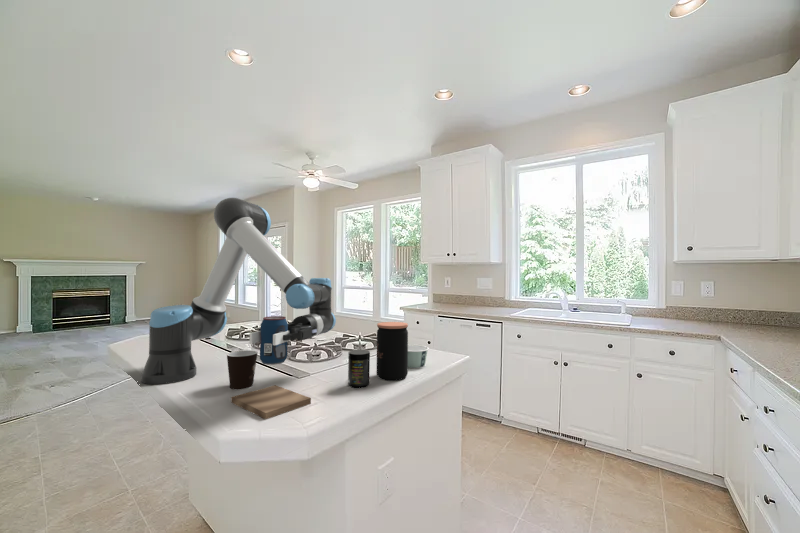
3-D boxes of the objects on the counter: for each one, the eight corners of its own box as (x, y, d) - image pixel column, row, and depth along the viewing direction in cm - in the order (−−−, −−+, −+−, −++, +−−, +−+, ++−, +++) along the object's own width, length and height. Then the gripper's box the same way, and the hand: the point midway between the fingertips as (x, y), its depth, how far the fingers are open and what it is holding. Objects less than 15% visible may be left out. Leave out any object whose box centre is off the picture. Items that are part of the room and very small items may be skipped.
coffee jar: (379, 371, 122) (380, 321, 122) (409, 373, 120) (409, 322, 121) (373, 380, 111) (374, 325, 112) (405, 382, 110) (406, 326, 110)
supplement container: (372, 387, 104) (372, 353, 104) (350, 390, 102) (350, 355, 102) (366, 381, 110) (366, 349, 111) (345, 383, 108) (346, 350, 108)
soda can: (267, 358, 95) (268, 315, 95) (291, 359, 94) (292, 316, 95) (254, 364, 88) (255, 318, 89) (279, 365, 87) (280, 319, 88)
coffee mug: (244, 391, 99) (245, 357, 100) (219, 389, 101) (220, 355, 101) (268, 380, 111) (268, 349, 111) (244, 378, 112) (245, 347, 113)
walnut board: (231, 402, 91) (231, 396, 91) (275, 390, 101) (275, 385, 101) (265, 419, 80) (265, 413, 80) (310, 403, 90) (310, 397, 90)
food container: (391, 364, 133) (391, 347, 133) (413, 359, 141) (413, 343, 141) (413, 370, 124) (413, 352, 124) (435, 365, 132) (435, 348, 132)
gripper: (334, 339, 107) (295, 356, 84) (280, 336, 111) (229, 351, 89) (334, 315, 107) (296, 326, 85) (280, 313, 111) (230, 323, 89)
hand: (262, 339), depth 87 cm, fingers closed on soda can, 6 cm apart
